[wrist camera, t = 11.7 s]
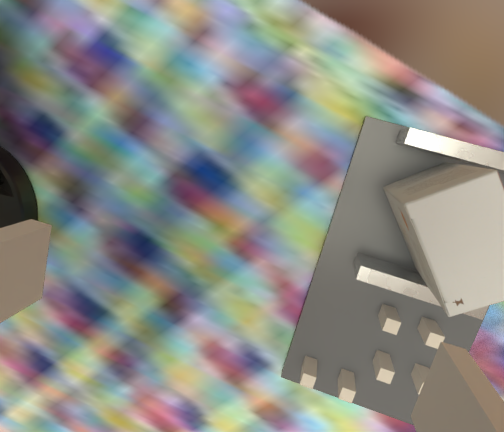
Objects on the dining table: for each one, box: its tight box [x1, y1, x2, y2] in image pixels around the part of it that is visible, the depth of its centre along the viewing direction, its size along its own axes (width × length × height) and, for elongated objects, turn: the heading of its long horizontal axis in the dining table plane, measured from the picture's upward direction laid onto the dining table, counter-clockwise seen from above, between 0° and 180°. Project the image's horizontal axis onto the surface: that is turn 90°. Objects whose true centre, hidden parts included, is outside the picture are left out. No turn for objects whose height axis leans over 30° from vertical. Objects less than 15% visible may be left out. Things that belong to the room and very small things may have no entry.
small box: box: [383, 162, 504, 317], centre depth 29 cm, size 8×6×10 cm
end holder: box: [353, 128, 504, 320], centre depth 32 cm, size 10×12×4 cm
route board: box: [281, 116, 504, 425], centre depth 34 cm, size 15×26×4 cm, turn 165°
